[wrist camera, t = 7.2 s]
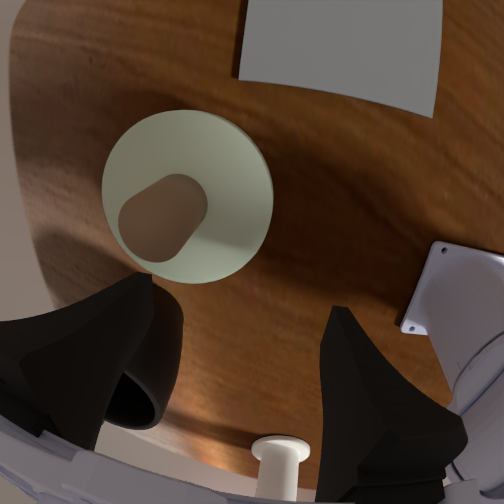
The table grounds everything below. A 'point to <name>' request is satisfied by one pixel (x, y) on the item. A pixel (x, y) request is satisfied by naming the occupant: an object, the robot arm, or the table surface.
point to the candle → (279, 466)
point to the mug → (150, 369)
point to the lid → (188, 195)
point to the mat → (347, 48)
